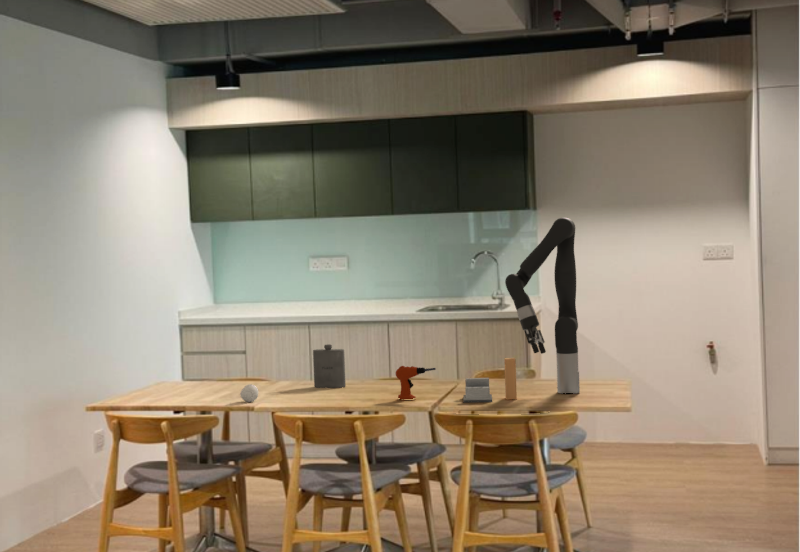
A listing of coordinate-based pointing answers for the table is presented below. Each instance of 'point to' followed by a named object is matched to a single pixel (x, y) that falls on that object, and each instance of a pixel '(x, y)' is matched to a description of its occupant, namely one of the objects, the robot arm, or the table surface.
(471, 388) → the vise
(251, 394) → the gray round stone
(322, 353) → the flask
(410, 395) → the toy drill
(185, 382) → the table surface
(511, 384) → the orange block
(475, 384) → the block
